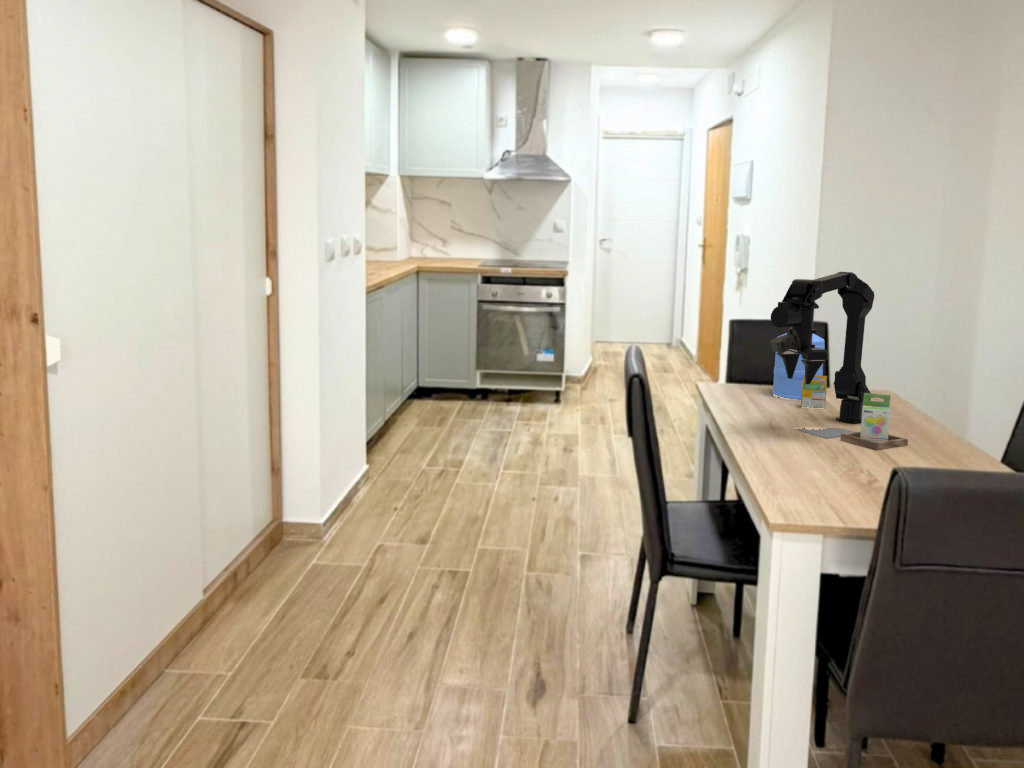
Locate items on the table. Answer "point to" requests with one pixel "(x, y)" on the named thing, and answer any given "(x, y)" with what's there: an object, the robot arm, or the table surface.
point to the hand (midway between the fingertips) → (798, 381)
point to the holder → (891, 443)
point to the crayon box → (814, 393)
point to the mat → (826, 432)
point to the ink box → (875, 418)
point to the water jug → (794, 385)
